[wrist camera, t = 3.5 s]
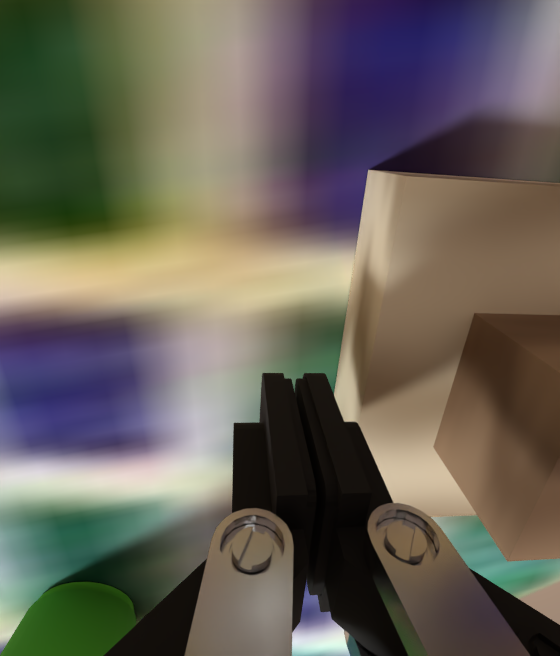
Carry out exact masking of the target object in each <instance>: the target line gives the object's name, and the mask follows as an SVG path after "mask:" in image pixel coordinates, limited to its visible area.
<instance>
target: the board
mask: <svg viewBox="0 0 560 656" xmlns="http://www.w3.org/2000/svg"><path fill="white" fill-rule="evenodd" d="M474 313H492V314H533V315H560V183H552V182H537V181H523V180H509V179H494V178H480V177H465V176H451V175H437V174H422V173H408V172H393V171H379V170H368V176H367V182H366V189H365V195H364V202H363V208H362V215H361V221H360V228H359V235H358V241H357V248H356V254H355V261H354V267H353V274H352V281H351V287H350V294H349V300H348V307H347V313H346V320H345V326H344V333H343V340H342V346H341V353H340V359H339V366H338V372H337V379H336V385H335V392H334V397H335V399H336V402H337V405H338V407H339V410H340V412H341V415H342V417H343V420H344V422H357V423H358V425H359V426H360V428H361V431H362V433H363V435H364V437H365V440H366V442H367V444H368V446H369V449H370V451H371V453H372V455H373V458H374V460H375V462H376V464H377V467H378V469H379V471H380V473H381V476H382V478H383V480H384V482H385V485H386V487H387V489H388V491H389V494H390V496H391V498H392V500H393V503H401V504H406V505H410V506H412V507H414V508H417V509H419V510H421V511H423V512H424V513H425V514H427V515H428V516H429V517H442V516H466V515H477V514H476V512H475V511H474V509H473V508H472V506H471V505H470V503H469V502H468V500H467V498H466V497H465V495H464V494H463V492H462V491H461V489H460V488H459V486H458V485H457V483H456V481H455V480H454V478H453V477H452V475H451V474H450V472H449V471H448V469H447V468H446V466H445V465H444V463H443V461H442V460H441V458H440V457H439V455H438V454H437V452H436V451H435V449H434V448H433V446H434V443H435V440H436V436H437V433H438V430H439V427H440V423H441V420H442V417H443V414H444V410H445V407H446V404H447V401H448V397H449V394H450V391H451V387H452V384H453V381H454V378H455V374H456V371H457V368H458V365H459V361H460V358H461V355H462V352H463V348H464V345H465V342H466V339H467V335H468V332H469V329H470V326H471V322H472V319H473V316H474Z"/></svg>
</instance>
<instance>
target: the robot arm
mask: <svg viewBox="0 0 560 656" xmlns="http://www.w3.org/2000/svg"><path fill="white" fill-rule="evenodd" d="M306 579H307V585H308V590H309V594H310V595H318V600H319V605H320V611H321V612H329V611H330V612H331V617H332V620H334V621H335V622H336V623H337V624H338V625H339V626H341V627H342V628H343V629H344V635H345V639H346V644H347V647H348V650H349V653H350V656H560V625H559V624H557V623H556V622H554V621H552V620H551V619H549V618H548V617H546V616H545V615H543V614H541V613H540V612H538V611H537V610H535V609H533V608H532V607H530V606H529V605H527V604H525V603H524V602H522V601H521V600H519V599H518V598H516V597H514V596H513V595H511V594H510V593H508V592H506V591H505V590H503V589H502V588H500V587H498V586H497V585H495V584H494V583H492V582H490V581H489V580H487V579H486V578H484V577H483V576H481V575H479V574H478V573H476V572H475V571H473V570H471V569H470V568H468V566H467V565H466V563H465V562H464V561H463V559H462V558H461V556H460V555H459V553H458V552H457V551H456V549H455V548H454V546H453V545H452V544H451V542H450V541H449V539H448V538H447V536H446V535H445V534H444V532H443V531H442V529H441V528H440V527H439V526H438V525H437V523H436V522H435V521H434V520H433V519H432V518H431V517H429V516H428V515H427V514H425V513H424V512H423V511H421V510H419V509H417V508H414V507H412V506H410V505H406V504H401V503H393V500H392V498H391V496H390V494H389V491H388V489H387V487H386V485H385V482H384V480H383V478H382V476H381V473H380V471H379V469H378V467H377V464H376V462H375V460H374V458H373V455H372V453H371V451H370V449H369V446H368V444H367V442H366V440H365V437H364V435H363V433H362V431H361V428H360V426H359V425H358V423H357V422H344V420H343V417H342V415H341V412H340V410H339V407H338V405H337V402H336V399H335V397H334V394H333V392H332V389H331V387H330V384H329V382H328V379H327V377H326V375H325V374H324V373H304V375H303V379H296V384H295V393H294V389H293V384H292V380H291V379H284V375H283V373H263V374H262V387H261V406H260V423H234V439H233V494H232V514H231V515H229V516H228V517H226V518H225V519H223V521H222V522H221V523H220V524H219V525H218V527H217V528H216V530H215V532H214V535H213V537H212V540H211V544H210V548H209V553H208V557H207V559H206V560H205V561H204V562H203V563H202V564H201V565H200V566H199V567H197V568H196V569H195V570H194V571H193V572H192V573H191V574H190V575H189V576H188V577H187V578H186V579H185V580H184V581H183V582H181V583H180V584H179V585H178V586H177V587H176V588H175V589H174V590H173V591H172V592H171V593H170V594H169V595H168V596H167V597H165V598H164V599H163V600H162V601H161V602H160V603H159V604H158V605H157V606H156V607H155V608H154V609H153V610H152V611H150V612H149V613H148V614H147V615H146V616H145V617H144V618H143V619H142V620H141V621H140V622H139V623H138V624H137V625H136V626H134V627H133V628H132V629H131V630H130V631H129V632H128V633H127V634H126V635H125V636H124V637H123V638H122V639H121V640H120V641H118V642H117V643H116V644H115V645H114V646H113V647H112V648H111V649H110V650H109V651H108V652H107V653H106V654H105V655H103V656H292V632H293V631H294V629H295V628H296V626H297V625H298V624H299V622H300V618H301V612H302V605H303V598H304V591H305V585H306Z"/></svg>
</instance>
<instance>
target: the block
mask: <svg viewBox="0 0 560 656" xmlns="http://www.w3.org/2000/svg"><path fill="white" fill-rule="evenodd" d="M433 448H434V449H435V451H436V452H437V454H438V455H439V457H440V458H441V460H442V461H443V463H444V465H445V466H446V468H447V469H448V471H449V472H450V474H451V475H452V477H453V478H454V480H455V481H456V483H457V485H458V486H459V488H460V489H461V491H462V492H463V494H464V495H465V497H466V498H467V500H468V502H469V503H470V505H471V506H472V508H473V509H474V511H475V512H476V514H477V515H478V517H479V518H480V520H481V522H482V523H483V525H484V526H485V528H486V529H487V531H488V532H489V534H490V535H491V537H492V538H493V540H494V542H495V543H496V545H497V546H498V548H499V549H500V551H501V552H502V554H503V555H504V557H505V559H506V560H507V561H522V560H540V559H557V558H560V315H533V314H492V313H474V316H473V319H472V322H471V326H470V329H469V332H468V335H467V339H466V342H465V345H464V348H463V352H462V355H461V358H460V361H459V365H458V368H457V371H456V374H455V378H454V381H453V384H452V387H451V391H450V394H449V397H448V401H447V404H446V407H445V410H444V414H443V417H442V420H441V423H440V427H439V430H438V433H437V436H436V440H435V443H434V446H433Z"/></svg>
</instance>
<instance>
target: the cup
mask: <svg viewBox="0 0 560 656" xmlns="http://www.w3.org/2000/svg"><path fill="white" fill-rule="evenodd" d="M134 626H136V616H135V613H134V607H133V603H132V601H131V600H130V599H129V597H128V596H127V595H125V594H124V593H123V592H122V591H120V590H118V589H116V588H114V587H112V586H108V585H105V584H101V583H94V582H72V583H67V584H62V585H59V586H56V587H53V588H51V589H50V590H48V591H46V592H45V593H44V594H43V595H42V596H41V597H40V598H39V599H38V601H36V602H35V603H34V604H33V605H32V606H31V607H30V608H29V610H28V611H27V613H26V614H25V616H24V618H23V619H22V621H21V622H20V624H19V626H18V627H17V629H16V630H15V632H14V634H13V635H12V637H11V638H10V640H9V642H8V643H7V645H6V647H5V648H4V650H3V651H2V653H1V655H0V656H103V655H105V654H106V653H107V652H108V651H109V650H110V649H111V648H112V647H113V646H114V645H115V644H116V643H117V642H118V641H120V640H121V639H122V638H123V637H124V636H125V635H126V634H127V633H128V632H129V631H130V630H131V629H132V628H133V627H134Z"/></svg>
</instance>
